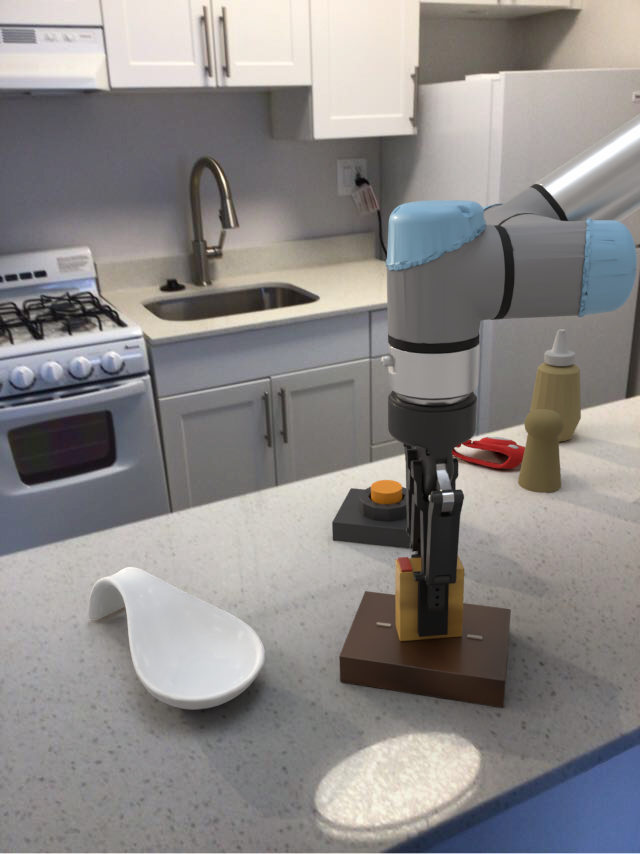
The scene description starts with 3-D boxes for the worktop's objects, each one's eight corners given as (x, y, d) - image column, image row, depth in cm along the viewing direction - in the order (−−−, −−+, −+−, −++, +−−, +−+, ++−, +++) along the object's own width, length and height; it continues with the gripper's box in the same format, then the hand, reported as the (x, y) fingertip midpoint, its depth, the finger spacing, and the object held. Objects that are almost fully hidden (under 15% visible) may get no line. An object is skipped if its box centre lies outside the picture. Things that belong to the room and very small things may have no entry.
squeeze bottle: (531, 425, 130) (538, 322, 124) (580, 430, 127) (590, 325, 121) (525, 442, 123) (532, 335, 117) (577, 447, 120) (587, 337, 114)
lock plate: (509, 633, 77) (511, 607, 76) (503, 708, 67) (505, 679, 66) (365, 614, 81) (365, 589, 80) (340, 682, 71) (338, 654, 70)
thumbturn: (455, 620, 74) (458, 552, 72) (462, 636, 72) (464, 566, 69) (395, 625, 74) (395, 556, 71) (399, 641, 72) (399, 571, 69)
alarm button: (404, 493, 99) (404, 481, 98) (399, 507, 95) (399, 494, 94) (374, 490, 100) (374, 478, 99) (368, 504, 96) (367, 491, 95)
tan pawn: (509, 484, 109) (513, 412, 105) (533, 471, 113) (538, 401, 109) (545, 497, 105) (551, 423, 101) (569, 483, 109) (576, 411, 105)
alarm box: (437, 513, 102) (438, 483, 100) (427, 551, 93) (427, 518, 91) (351, 505, 105) (350, 476, 103) (332, 540, 96) (331, 509, 94)
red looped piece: (506, 436, 123) (543, 443, 114) (502, 463, 123) (539, 472, 114) (440, 430, 119) (473, 437, 110) (437, 458, 119) (469, 467, 110)
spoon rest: (291, 682, 71) (287, 618, 69) (190, 753, 64) (182, 684, 61) (150, 590, 87) (142, 535, 84) (55, 637, 79) (43, 579, 77)
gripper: (375, 367, 71) (378, 581, 80) (405, 426, 57) (405, 680, 65) (453, 362, 72) (448, 576, 80) (503, 420, 57) (490, 673, 66)
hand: (428, 622), depth 73 cm, fingers closed on thumbturn, 2 cm apart
